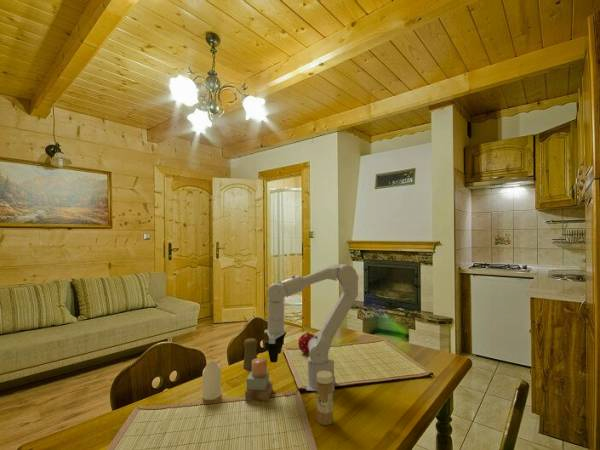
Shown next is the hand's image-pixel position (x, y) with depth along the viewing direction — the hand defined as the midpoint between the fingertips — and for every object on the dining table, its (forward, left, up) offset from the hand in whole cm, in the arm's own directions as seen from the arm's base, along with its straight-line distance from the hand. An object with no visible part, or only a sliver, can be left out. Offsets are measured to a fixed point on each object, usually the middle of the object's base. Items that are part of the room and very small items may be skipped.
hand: (275, 357), depth 109 cm
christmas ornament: (-9, -31, -11) cm, 34 cm away
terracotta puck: (+5, +5, -4) cm, 8 cm away
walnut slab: (+5, +5, -11) cm, 13 cm away
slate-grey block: (+5, +5, -7) cm, 10 cm away
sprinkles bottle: (-18, +18, -11) cm, 27 cm away
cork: (+13, -16, -11) cm, 24 cm away
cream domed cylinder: (+20, +7, -11) cm, 24 cm away
